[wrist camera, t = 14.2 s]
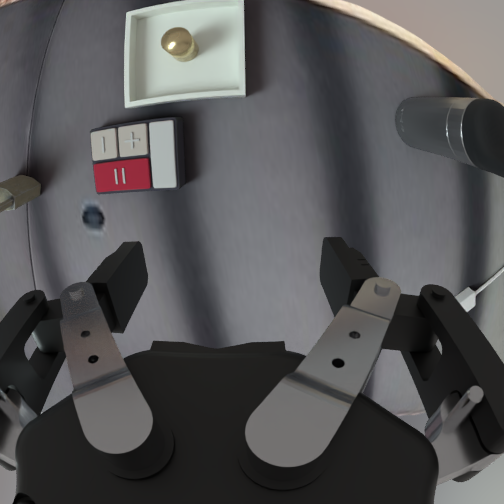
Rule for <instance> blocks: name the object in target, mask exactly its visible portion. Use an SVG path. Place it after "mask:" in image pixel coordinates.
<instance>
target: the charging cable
mask: <svg viewBox="0 0 504 504" xmlns="http://www.w3.org/2000/svg"><path fill="white" fill-rule="evenodd" d="M503 271H504V267H503V268H502V269H501V270H500V271H499V272H498V273H497V274H495V275H494V276H493V277H492V278H491V279H490V280H488V281H487V282H486V283H485V284H484V285H483V286H481V287H480V288H479V289H478V290H476V291H472V290H471V289H470V288H469V287H468V288H466V289H465V290H464V291H462V292H461V293H460V294H458V295H457V296H455V298H456V299H457V301H458V302H459V303H460V304H461V306H462V307H463V308H464V309H465V311H466V312H468V311H469V310H470V309H471V308H473V307H474V306H475V297H476V294H478V293H479V292H480V291H481V290H483V289H484V288H485V287H486V286H487V285H489V284H490V283H491V282H492V281H493V280H494V279H496V278H497V277H498V276H499V275H500V274H501V273H502V272H503Z"/></svg>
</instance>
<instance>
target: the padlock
mask: <svg viewBox="0 0 504 504" xmlns="http://www.w3.org/2000/svg"><path fill="white" fill-rule="evenodd" d="M40 189H41V184H40V183H39V182H37V181H36V180H35V179H34V178H32V177H28V176H25V175H20V176H15V177H13V178H10V179H8V180H6V181H3V182H1V183H0V212H2V211H4V210H6V211H8V210H15V209H17V208H18V207H20V206H22V205H24V204H25V203H27V202H29V201H31V200H33V199H35V198H37V197H38V196H40Z"/></svg>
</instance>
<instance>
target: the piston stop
mask: <svg viewBox="0 0 504 504" xmlns="http://www.w3.org/2000/svg"><path fill="white" fill-rule="evenodd" d="M161 46H162V48H163V49H164V50H165V51H166V52H168V53H169V54H170V55H171V56H172V57H174V58H175V59H176V60H178V61H180V62H187V61H190V60H192V59H194V58H195V57H196V55H197V54H198V51H199V47H198V44H197V43H196V41H195V40H194V38H193V37H192V36H191V34H190V33H189V31H188V30H187V29H185V28H182V27H174V28H171V29H169V30H168V31H167V32H165V34H164V35H163V36H162V39H161Z"/></svg>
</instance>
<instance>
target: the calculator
mask: <svg viewBox="0 0 504 504" xmlns="http://www.w3.org/2000/svg"><path fill="white" fill-rule="evenodd" d="M90 137H91V150H92V161H93V170H94V179H95V186H96V192H97V194H110V193H124V192H139V191H159V190H178V189H180V188H181V187H182V186H183V185H184V184H185V183H186V179H185V160H184V136H183V118H182V117H168V118H159V119H151V120H143V121H136V122H129V123H123V124H117V125H111V126H106V127H101V128H96V129H92V130H91V131H90Z"/></svg>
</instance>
